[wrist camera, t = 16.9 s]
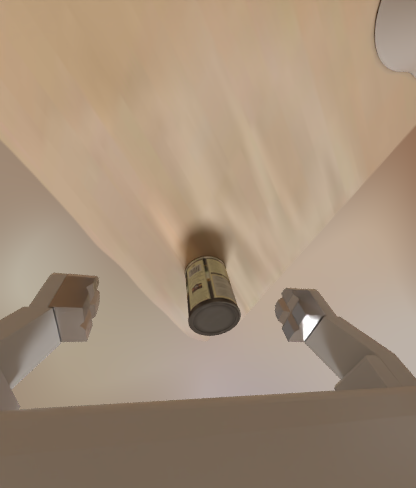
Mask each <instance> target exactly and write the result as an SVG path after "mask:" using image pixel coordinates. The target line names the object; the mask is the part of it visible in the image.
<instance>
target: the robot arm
mask: <svg viewBox="0 0 416 488" xmlns="http://www.w3.org/2000/svg"><path fill="white" fill-rule="evenodd" d="M375 44H376V49H377V53H378V56H379V58H380V60H381V61H382V63H383V64H384V65H385V66H386V67H387V68H389V69H391V70H393V71H397V72H409V73H411V74H412V75H413V76H414V77H416V0H382V1H381V4H380V7H379V10H378V15H377V20H376V27H375ZM98 284H99V280H98V277H97V276H89V275H78V274H62V273H53V274H51V275H50V276H49V278H48V279H47V280H46V282H45V283H44V285H43V286H42V288H41V289H40V291H39V292H38V294H37V295H36V297H35V298H34V300H33V301H32V303H31V304H30V306H29V307H22V308H21V309H19V310H17V311H15V312H14V313H12V314H10V315H8V316H7V317H5V318H3V319H1V320H0V488H416V378H415V377H414V376H413V375H412V374H411V372H410V371H409V370H408V369H407V368H406V367H405V365H404V364H403V363H402V362H401V361H400V360H399V358H398V357H397V356H396V355H395V354H394V353H392V352H391V351H389V350H388V349H387V348H385V347H384V346H382V345H381V344H379V343H378V342H376V341H375V340H373V339H372V338H370V337H369V336H368V335H366V334H365V333H363V332H362V331H360V330H358V329H357V328H356V327H354V326H353V325H351V324H350V323H348V322H347V321H346V320H344V319H342V318H341V317H337V316H336V314H335V313H334V312H333V310H332V309H331V308H330V306H329V305H328V304H327V302H326V301H325V300H324V298H323V297H322V296H321V295H320V293H319V292H318V291H317V290H315V289H297V288H286V289H284V290H283V292H282V298H281V299H279V300H278V301H277V303H276V305H275V313H276V317H277V319H278V321H280V322H281V323H282V324H283V327H282V330H283V332H284V334H285V336H286V338H287V340H288V342H290V341H291V342H305V344H306V345H307V346H308V347H309V348H310V349H311V350H312V351H313V352H314V353H315V354H316V355H317V356H318V357H319V358H320V359H321V360H322V361H323V362H324V363H325V364H326V365H327V366H328V367H329V368H330V369H331V370H332V371H333V372H334V373H335V374H336V375H337V376H338V377H339V378H340V379H341V380H340V381H339V382H338V383H337V384H336V385H335V388H334V389H335V391H321V392H304V393H286V394H271V395H255V396H254V395H253V396H235V397H219V398H202V399H186V400H169V401H152V402H136V403H118V404H103V405H85V406H68V407H52V408H35V409H19V408H20V405H19V403H18V401H17V399H16V398H15V396H14V394H13V392H12V390H11V389H12V388H13V387H14V386H16V385H17V384H18V383H19V382H20V381H21V380H22V379H23V378H24V377H25V376H26V375H27V374H28V373H30V371H32V370H33V369H34V368H35V367H36V366H37V365H38V364H39V363H40V362H41V361H42V360H44V359H45V358H46V357H47V356H48V355H49V354H50V353H51V352H52V351H53V350H54V349H55V348H56V347H58V346H59V345H60V343H61V342H82V341H87V340H88V337H89V334H90V331H91V328H92V318H94V317H95V316H96V314H97V310H98V306H99V299H100V295H99V294H100V293H99V291H98V290H97V287H98Z"/></svg>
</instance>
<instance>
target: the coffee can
mask: <svg viewBox="0 0 416 488" xmlns="http://www.w3.org/2000/svg"><path fill="white" fill-rule="evenodd" d="M185 277H186V288H187V300H188V313H189V318H188V322H189V326H190V328H191V329H192V330H193V331H194V332H196V333H198V334H201V335H207V336H213V335H219V334H222V333H225V332H227V331H229V330H231V329H232V328H234V327H235V326H236V325H237V323H238V322H239V320H240V317H241V313H240V310H239V308H238V306H237V303H236V300H235V296H234V293H233V290H232V287H231V284H230V281H229V278H228V275H227V272H226V267H225V265H224V263H223V262H222V261H221V260H220V259H218V258H215V257H211V256H204V257H200V258H197V259H195V260H193V261H192V262H191V263H190V264H189V265H188V266H187V268H186V270H185Z"/></svg>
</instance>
